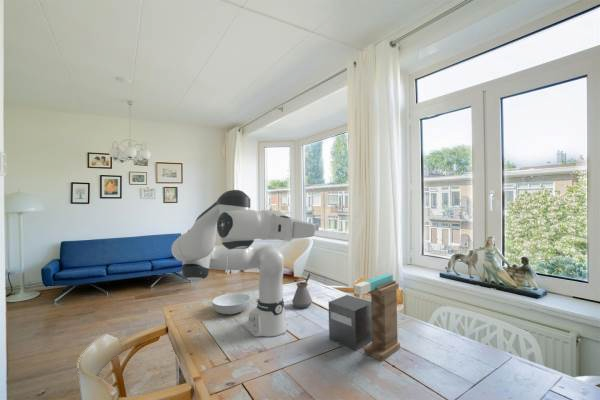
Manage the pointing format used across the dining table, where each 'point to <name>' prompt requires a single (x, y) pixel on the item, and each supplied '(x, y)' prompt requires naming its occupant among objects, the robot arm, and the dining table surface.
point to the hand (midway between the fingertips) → (308, 225)
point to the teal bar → (372, 284)
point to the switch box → (350, 322)
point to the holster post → (384, 321)
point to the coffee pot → (302, 295)
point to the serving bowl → (231, 303)
